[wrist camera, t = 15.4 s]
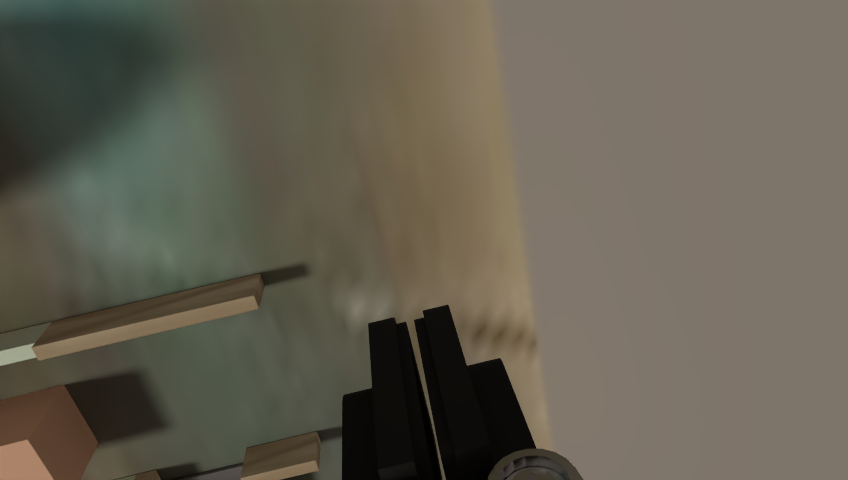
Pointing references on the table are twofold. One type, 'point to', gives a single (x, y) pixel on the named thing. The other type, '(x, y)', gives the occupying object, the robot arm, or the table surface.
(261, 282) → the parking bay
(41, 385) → the table surface
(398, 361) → the robot arm
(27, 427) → the block
